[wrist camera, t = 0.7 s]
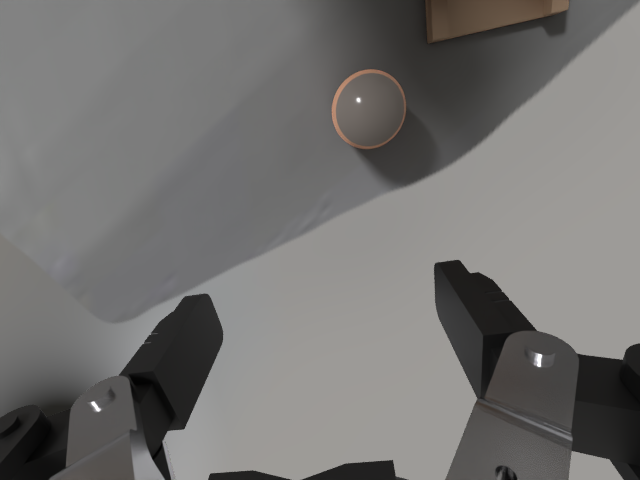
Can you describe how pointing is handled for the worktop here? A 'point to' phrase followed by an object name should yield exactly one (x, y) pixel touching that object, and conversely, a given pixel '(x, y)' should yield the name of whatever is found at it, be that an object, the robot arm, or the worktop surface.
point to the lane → (483, 15)
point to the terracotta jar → (368, 109)
